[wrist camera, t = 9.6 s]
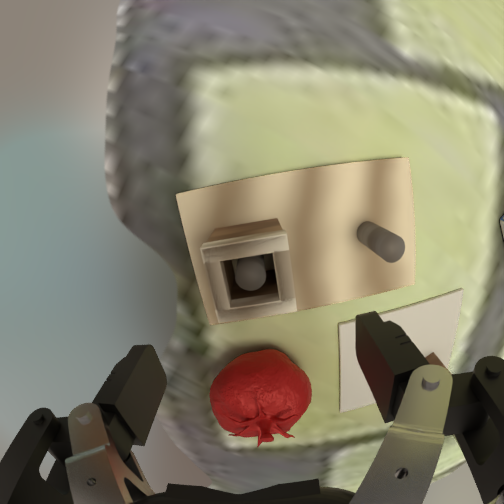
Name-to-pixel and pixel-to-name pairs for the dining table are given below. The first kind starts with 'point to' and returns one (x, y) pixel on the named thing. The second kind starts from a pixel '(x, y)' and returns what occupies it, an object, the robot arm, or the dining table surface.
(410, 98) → the dining table surface
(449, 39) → the dining table surface
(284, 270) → the sleeve
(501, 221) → the ink cartridge box
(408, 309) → the mat
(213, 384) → the pomegranate
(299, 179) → the pin board
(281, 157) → the dining table surface
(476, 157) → the dining table surface
